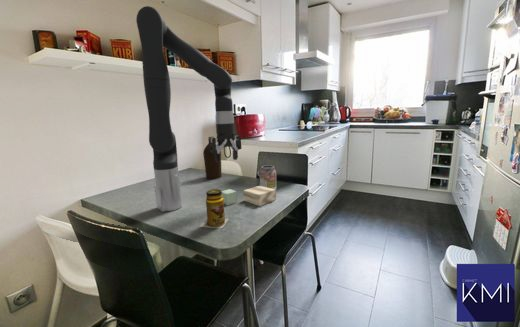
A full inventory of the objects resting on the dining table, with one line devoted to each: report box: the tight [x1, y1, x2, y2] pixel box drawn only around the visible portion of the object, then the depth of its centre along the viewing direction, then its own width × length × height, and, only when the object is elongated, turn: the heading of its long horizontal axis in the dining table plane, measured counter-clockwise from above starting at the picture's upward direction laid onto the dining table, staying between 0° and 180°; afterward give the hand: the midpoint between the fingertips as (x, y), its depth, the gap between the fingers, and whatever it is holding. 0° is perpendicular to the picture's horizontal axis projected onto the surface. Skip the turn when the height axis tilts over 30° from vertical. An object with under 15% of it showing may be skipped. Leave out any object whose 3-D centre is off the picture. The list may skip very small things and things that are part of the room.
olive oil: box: [202, 136, 222, 180], centre depth 151 cm, size 11×11×25 cm
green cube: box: [221, 188, 238, 206], centre depth 108 cm, size 5×5×5 cm
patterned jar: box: [256, 164, 277, 191], centre depth 122 cm, size 9×8×12 cm
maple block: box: [243, 185, 277, 207], centre depth 109 cm, size 10×10×5 cm
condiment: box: [198, 188, 229, 229], centre depth 87 cm, size 7×8×12 cm
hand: (227, 160), depth 106 cm, fingers open, 8 cm apart
